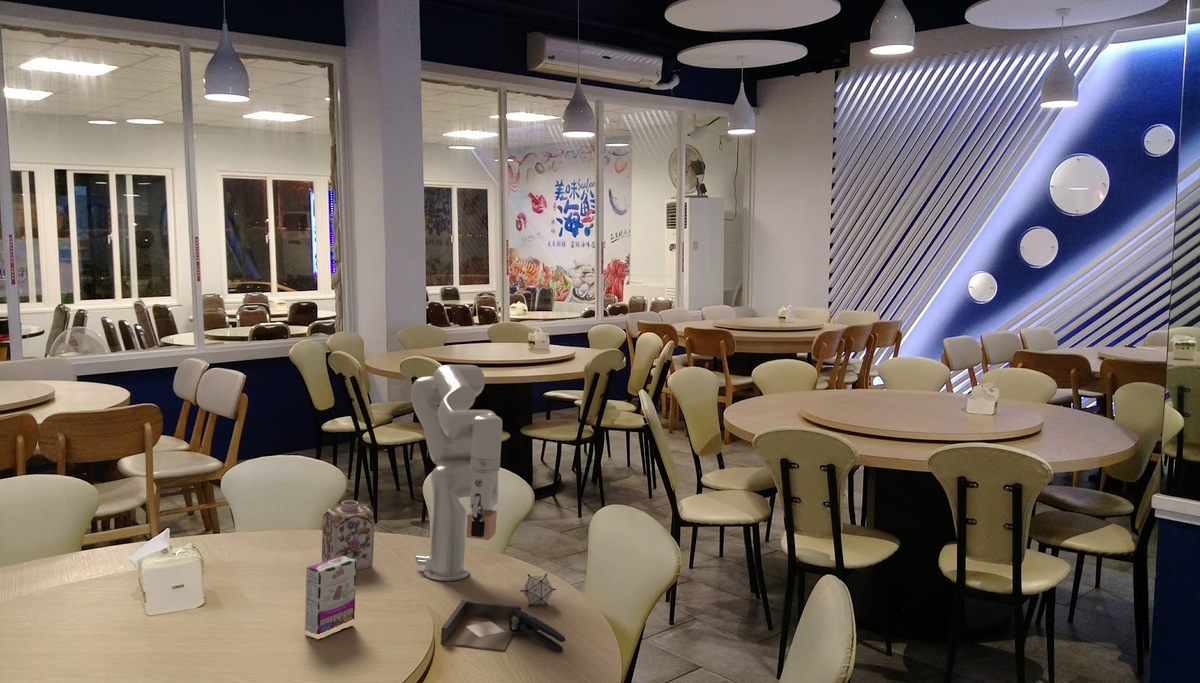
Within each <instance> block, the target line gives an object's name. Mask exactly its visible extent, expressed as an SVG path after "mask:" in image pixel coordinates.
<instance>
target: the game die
mask: <svg viewBox="0 0 1200 683" xmlns="http://www.w3.org/2000/svg"><path fill="white" fill-rule="evenodd" d="M527 576H528V579H527V581H526V583H525V585H524V587H523V589H520V590H519V591H520V592H521V593H523V594H524V596H525V598H526V599H527V602H528V603H529V604H528V608H531V605H547V607H549V604H548V601H549V599H550V597H551V595H552V592H554V591H556V590H557V588H553V587H552V585H551V583H550V581H549V579H548V577H547V576H548V573H547V572H546V573H545V574H544V575H534V576H530V574H529V573H527Z"/></svg>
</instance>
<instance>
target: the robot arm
mask: <svg viewBox="0 0 1200 683" xmlns="http://www.w3.org/2000/svg"><path fill="white" fill-rule="evenodd" d="M485 383H486V378H485V374H484V372H483V370H482V368H480V367H479V366H477V365H473V364H444V365H441V366H440V367H438V368H437V369H436V370H435V371H434V373H433V375H432V376H431V375H430V376H422V377H419V378H417V379H415V381H413V384H412V385H411V389H410V392H411V393H410V394H411V403H412V407H413V410H414V413H415V414H416V417H417V419H418V421H419V423H420V424H421V426H422V428H423V431H424V432H423V433H424V436H425V442H426V445H427V449H428V450H427V451H428V454H429V457H430V459H431V461H432V462H433V463H434V464H435V465H437V466H436V467H434V468H433V470H432V472H431V475H430V484H431V493H432V494H431V495H432V517H431V520H432V521H431V534H430V537H431V538H430V552H429V553H430V554H429V555H426V556H424V555H416V557H415V563H416V565H418V566H419V565H420V566H425V567H424V568H423V575H424V576H425V577H427V578H428V579H431V580H433V581H434V580H435V581H443V582H450V581H451V582H452V581H458V580H462V579H465V578H466V577H468V576H469V571H470V570H469V568H468V567H467V566H466V565H465V562H464V561H465V552H466V550H465V549H466V533H467V511H466V509H465V506H464V505H463V504H462V503H461V502H460V500H459V499H460V498H468V497H469V498H470V499H469V500H470V502H469V507H470V509H471V511H472V527H471V536H475V537H483V536H484V524H485V521H483V520H484V513H485V510H486V511H489V510H493V508H494V507H495V506H496V505H497V503H499V502H498V501H499V471H500V469H501V452H502V440H503V439H502V436H503V420H502V418H501V417H500V416H498V415H497V414H496V413H495V412H494V411H493V410H491V409H490V410H489V409H471V407H472V406H473V405H474V403H475V402H476V398H477V397H478V396H479V395H481V393H482V392H483V390H484V388H485V385H486V384H485ZM478 512H481V515H480V513H478Z"/></svg>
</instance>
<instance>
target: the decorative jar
mask: <svg viewBox="0 0 1200 683" xmlns="http://www.w3.org/2000/svg"><path fill="white" fill-rule="evenodd" d="M321 536H322V538H321V561H322V562H325V561H328V560H331V559H334V558H338V557H341V556H346V557H349V558H352V559H355V560H356V569H357V570H360V569H359V568H364V569H370V568H372V567H373V563H374V551H375V550H374V546H375V519H374V515H373V512H372V510H371V509H370V508H368V507H367V506H364V505H360V504H359V502H358V501H356V500H344V501H341V504H340V505H335V506H333V507H330V508H329V509H327V510H326V512H325V513H324V514H323V518H322V535H321Z"/></svg>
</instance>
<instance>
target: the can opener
mask: <svg viewBox="0 0 1200 683" xmlns="http://www.w3.org/2000/svg"><path fill="white" fill-rule="evenodd" d="M508 617H509V618H508V620H509V628H510V631H511V632H513V633H514V634H515V635H516V634H517V635H529V636H531V637H533V639H536V640H537V641H538V642H539V643H541V644H542V645H544V646H545V647H547V648H549V649H551V650H553V651H556V652H563V651H564V649H563V647H562V645H561V644H559V643H558V642H561V643H564V642H566V637H565V636H564V635H563V634H562V633H560V632H559V631H557V630H556V629H554V628H553V627H552V626H550V625H549V624H547V623H546V622H544V621H542V620H541V619H538V618H537V617H534V614H533V613H527V612H526V611H523V610H522V609H521V610H518V609H516V608H514V609H512V610H511V611H510V612H509V616H508ZM547 635H548V636H549V637H548V636H547ZM550 637H551V638H550ZM552 638H553V639H555V640H557V642H556V641H555V640H553V639H552Z"/></svg>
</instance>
